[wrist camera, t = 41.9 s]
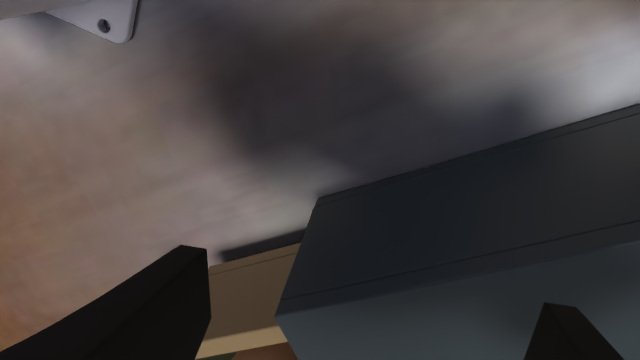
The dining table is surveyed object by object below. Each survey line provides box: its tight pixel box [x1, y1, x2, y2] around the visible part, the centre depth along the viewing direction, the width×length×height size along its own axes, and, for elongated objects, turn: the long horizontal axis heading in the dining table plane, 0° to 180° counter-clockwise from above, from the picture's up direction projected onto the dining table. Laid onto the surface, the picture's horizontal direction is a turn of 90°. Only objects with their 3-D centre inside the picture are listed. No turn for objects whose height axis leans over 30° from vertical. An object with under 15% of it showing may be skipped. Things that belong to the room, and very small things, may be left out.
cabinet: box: [274, 105, 640, 360], centre depth 18 cm, size 14×12×8 cm
